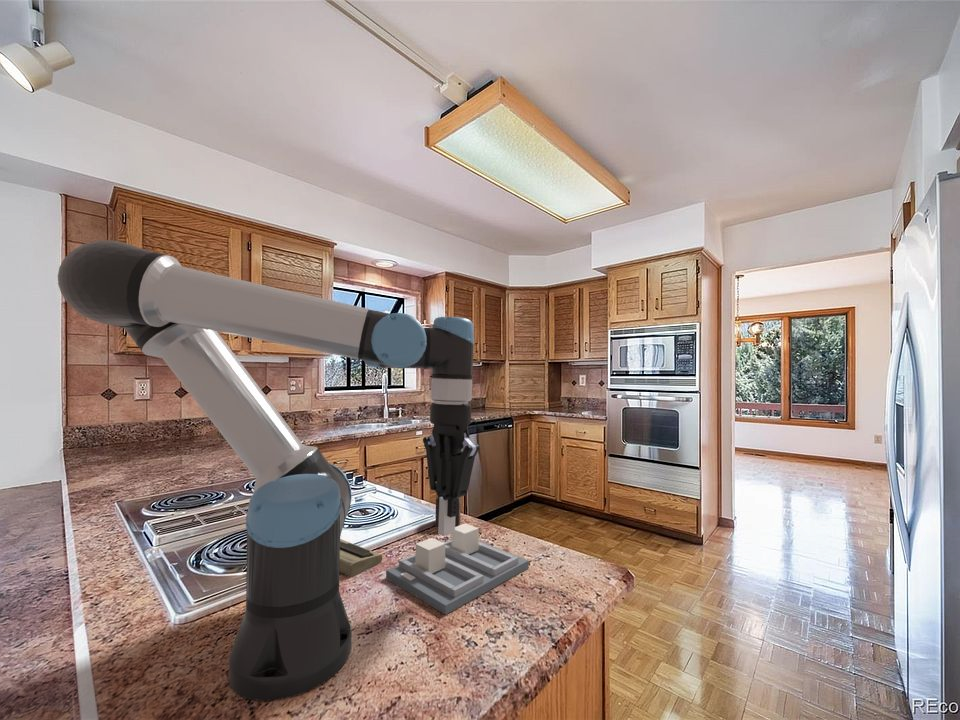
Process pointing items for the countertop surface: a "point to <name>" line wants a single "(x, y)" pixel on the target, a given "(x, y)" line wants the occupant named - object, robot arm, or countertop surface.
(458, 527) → the tab
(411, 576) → the grey compartment tray
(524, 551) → the countertop surface
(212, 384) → the robot arm
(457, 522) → the box
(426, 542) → the tab
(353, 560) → the computer
